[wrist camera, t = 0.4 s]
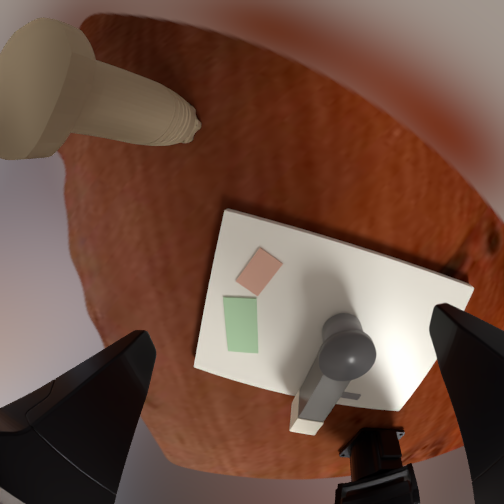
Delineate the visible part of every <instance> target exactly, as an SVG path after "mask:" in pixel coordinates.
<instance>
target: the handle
mask: <svg viewBox="0 0 504 504" xmlns="http://www.w3.org/2000/svg"><path fill="white" fill-rule="evenodd" d="M195 112H196V110H195V108H194V107H193V106H192V105H191V104H189V103H188V102H187V101H185V100H184V99H183V98H182V97H181V96H179V95H178V94H177V93H175V92H174V91H172V90H170V89H169V88H167V87H165V86H164V85H162V84H160V83H158V82H155V81H153V80H150V79H148V78H145V77H142V76H140V75H137V74H134V73H132V72H129V71H126V70H124V69H121V68H118V67H115V66H112V65H110V64H107V63H104V62H101V61H98V60H96V59H95V55H94V52H93V49H92V47H91V45H90V42H89V41H88V39H87V38H86V36H85V35H84V34H83V32H82V31H81V30H79V29H77V28H75V27H73V26H71V25H69V24H66V23H64V22H60V21H58V20H55V19H49V18H38V19H36V20H33V21H31V22H30V23H28V24H26V25H25V26H23V27H22V28H20V29H19V30H17V31H16V32H15V33H14V34H13V35H12V36H11V38H10V39H9V40H8V42H7V43H6V45H5V46H4V48H3V50H2V52H1V53H0V158H2V159H5V160H18V159H33V158H44V157H49V156H52V155H53V154H54V153H55V152H56V151H57V150H58V149H59V148H60V147H61V146H62V144H63V143H64V142H65V141H66V139H67V137H68V136H69V134H70V133H78V134H84V135H91V136H97V137H103V138H108V139H113V140H118V141H123V142H128V143H132V144H140V145H150V146H167V145H173V144H177V143H180V142H181V143H189V142H191V141H192V140H193V136H194V134H195V133H196V131H197V130H199V129H200V128H201V122H200V121H199V120H198V119H197V117H196V113H195Z"/></svg>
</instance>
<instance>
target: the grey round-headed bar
mask: <svg viewBox="0 0 504 504" xmlns="http://www.w3.org/2000/svg"><path fill="white" fill-rule="evenodd" d="M322 339H323V344H322V345H321V347H320V349H319V352H318V354H317V356H316V358H315V360H314V362H313V364H312V366H311V368H310V370H309V372H308V374H307V376H306V378H305V380H304V382H303V384H302V386H301V388H300V389H299V390H298V392H297V394H296V396H295V398H294V400H293V401H292V407H291V419H290V430H289V431H292V432H297V433H303V434H309V435H315V434H316V433H317V431H318V430H319V429H320V427H321V426H322V425H323V423H324V420H325V419H326V417H327V416H328V414H329V413H330V412H331V410H332V409H333V407H334V406H335V404H336V403H337V401H338V400H339V398H340V397H341V395H342V394H343V392H344V391H345V389H346V388H347V386H348V384H349V383H350V381H351V380H354V379H357V378H359V377H361V376H363V375H364V374H365V373H367V372H368V371H369V370H370V369H371V368H372V366H373V365H374V363H375V360H376V349H375V346H374V343H373V341H372V339H371V338H370V336H369V335H368V334H366V333H365V332H363V329H362V326H361V323H360V321H359V319H358V318H357V317H356V316H354V315H352V314H349V313H339V314H336V315H334V316H332V317H330V318H329V319H328V320H327V321H326V322H325V323H324V325H323V328H322Z"/></svg>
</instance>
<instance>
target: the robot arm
mask: <svg viewBox="0 0 504 504" xmlns="http://www.w3.org/2000/svg"><path fill="white" fill-rule="evenodd" d="M429 333H430V337H431V340H432V343H433V346H434V350H435V353H436V357H437V360H438V364H439V368H440V371H441V374H442V377H443V380H444V382H445V385H446V388H447V391H448V393H449V396H450V399H451V402H452V405H453V408H454V411H455V415H456V418H457V421H458V424H459V428H460V431H461V435H462V439H463V443H464V447H465V451H466V455H467V459H468V464H469V469H470V474H471V479H472V481H473V482H472V486H473V492H474V500H475V504H504V331H503V330H501V329H499V328H497V327H495V326H493V325H491V324H489V323H487V322H485V321H483V320H481V319H479V318H477V317H475V316H473V315H471V314H469V313H467V312H465V311H463V310H461V309H459V308H457V307H454V306H452V305H450V304H448V303H441V304H437V305H435V306H434V308H433V312H432V317H431V321H430V325H429ZM155 359H156V349H155V346H154V344H153V342H152V340H151V338H150V335H149V333H148V332H147V331H145V330H135V331H133V332H131V333H129V334H128V335H126V336H125V337H123V338H121V339H120V340H118V341H116V342H115V343H113V344H112V345H110V346H108V347H107V348H105V349H103V350H102V351H100V352H99V353H97V354H95V355H94V356H92V357H90V358H89V359H87V360H85V361H84V362H82V363H80V364H79V365H77V366H76V367H74V368H72V369H71V370H69V371H67V372H66V373H64V374H62V375H61V376H59V377H57V378H56V379H55V380H52V381H51V382H49V383H47V384H46V385H44V386H42V387H41V388H39V389H37V390H35V391H33V392H32V393H30V394H28V395H26V396H24V397H22V398H20V399H18V400H16V401H14V402H12V403H10V404H8V405H6V406H4V407H2V408H0V504H114V503H115V498H116V494H117V490H118V487H119V483H120V480H121V475H122V472H123V469H124V465H125V462H126V459H127V455H128V452H129V449H130V445H131V442H132V439H133V436H134V433H135V429H136V426H137V423H138V420H139V417H140V414H141V411H142V408H143V405H144V402H145V399H146V396H147V393H148V389H149V384H150V380H151V376H152V371H153V367H154V363H155ZM404 434H405V432H404V430H391V429H374V428H363V429H361V430H360V431H359V432H358V433H357V434H356V436H355V437H354V438H353V439H352V440H351V441H350V442H349V443H348V444H347V445H346V446H345V448H344V449H343V450H342V451H341V452H340V453H339V456H340V457H349V458H350V467H351V482H349V483H341V484H338V488H337V489H336V492H335V493H336V494H335V504H420V497H419V490H418V486H417V482H416V478H415V474H414V470H413V466H412V463H410V464H407V465H406V466H402V461H401V456H402V454H401V449H400V445H399V441H398V440H399V439H400V438H401V437H402V436H403V435H404Z"/></svg>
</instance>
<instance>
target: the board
mask: <svg viewBox="0 0 504 504" xmlns="http://www.w3.org/2000/svg"><path fill="white" fill-rule="evenodd" d="M473 290H474V287H472V286H471V285H470V284H468V283H466V282H463V281H460V280H458V279H455V278H452V277H449V276H446V275H444V274H441V273H438V272H435V271H432V270H430V269H427V268H424V267H421V266H418V265H415V264H412V263H409V262H406V261H403V260H400V259H397V258H394V257H391V256H388V255H385V254H382V253H379V252H376V251H373V250H370V249H367V248H363V247H360V246H357V245H354V244H351V243H347V242H344V241H341V240H338V239H334V238H331V237H328V236H324V235H321V234H318V233H314V232H311V231H308V230H304V229H301V228H297V227H294V226H290V225H287V224H283V223H280V222H276V221H273V220H269V219H265V218H262V217H258V216H255V215H251V214H247V213H243V212H240V211H236V210H232V209H226V210H224V215H223V219H222V224H221V228H220V233H219V238H218V242H217V247H216V252H215V257H214V261H213V266H212V271H211V276H210V281H209V286H208V291H207V296H206V302H205V307H204V312H203V318H202V323H201V329H200V334H199V340H198V345H197V351H196V357H195V363H194V367H195V368H198V369H201V370H204V371H207V372H210V373H213V374H216V375H219V376H222V377H225V378H228V379H232V380H235V381H238V382H242V383H245V384H249V385H252V386H256V387H260V388H263V389H267V390H271V391H275V392H279V393H284V394H288V395H292V396H296V394H297V392H298V390H299V389H300V388H301V386H302V384H303V382H304V380H305V378H306V376H307V374H308V372H309V370H310V368H311V366H312V364H313V362H314V360H315V358H316V356H317V354H318V352H319V349H320V347H321V345H322V344H323V339H322V328H323V325H324V323H325V322H326V321H327V320H328V319H329V318H330V317H332V316H334V315H336V314H339V313H349V314H352V315H354V316H356V317H357V318H358V319H359V321H360V323H361V326H362V329H363V332H365V333H366V334H368V335H369V336H370V338H371V339H372V341H373V343H374V346H375V349H376V360H375V363H374V365H373V366H372V368H371V369H370V370H369V371H368V372H367V373H365V374H364V375H363V376H361V377H359V378H357V379H354V380H351V381H350V383H349V384H348V386H347V388H346V389H345V391H344V392H343V394H342V395H341V397H340V398H339V400H338V401H337V403H336V404H340V405H347V406H354V407H361V408H370V409H379V410H390V411H399V410H400V409H401V408H402V407H403V405H404V404H405V403H406V402H407V400H408V399H409V398H410V396H411V395H412V394H413V393H414V391H415V390H416V388H417V387H418V386H419V384H420V383H421V382H422V380H423V379H424V377H425V376H426V374H427V373H428V371H429V370H430V368H431V367H432V365H433V364H434V362H435V361H436V359H437V357H436V353H435V350H434V346H433V343H432V340H431V337H430V333H429V325H430V321H431V317H432V312H433V308H434V306H435V305H437V304H441V303H448V304H450V305H452V306H454V307H457V308H459V309H461V310H463V311H464V309H465V307H466V305H467V303H468V301H469V299H470V297H471V294H472V292H473Z"/></svg>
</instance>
